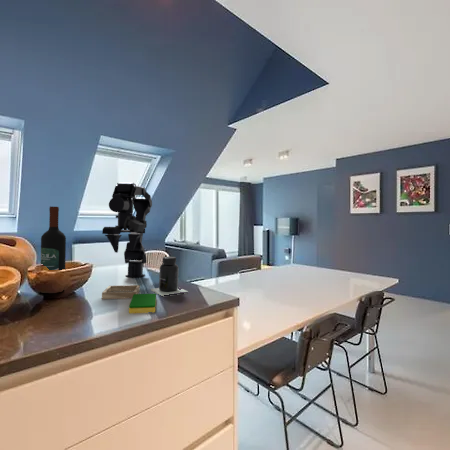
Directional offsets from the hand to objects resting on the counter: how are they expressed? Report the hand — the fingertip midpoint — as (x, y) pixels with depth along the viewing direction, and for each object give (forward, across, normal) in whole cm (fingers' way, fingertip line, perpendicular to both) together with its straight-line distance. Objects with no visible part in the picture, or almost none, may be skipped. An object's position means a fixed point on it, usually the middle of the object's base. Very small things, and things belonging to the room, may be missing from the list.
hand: (124, 251), depth 117 cm
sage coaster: (+13, -3, -24) cm, 27 cm away
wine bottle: (+13, -22, +12) cm, 28 cm away
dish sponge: (+14, -21, -27) cm, 37 cm away
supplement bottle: (+13, -3, -24) cm, 27 cm away
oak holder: (+13, -14, -12) cm, 23 cm away
